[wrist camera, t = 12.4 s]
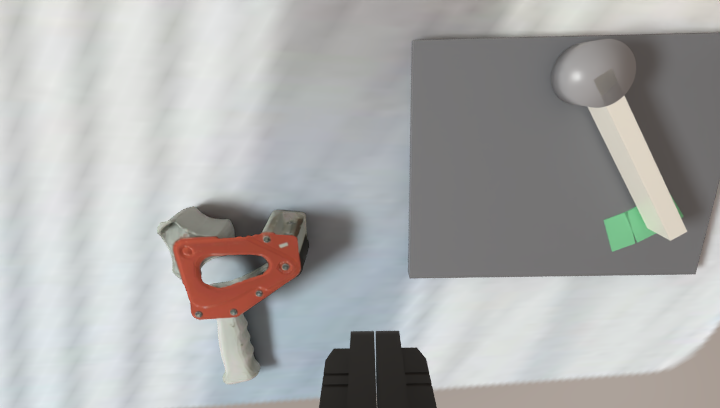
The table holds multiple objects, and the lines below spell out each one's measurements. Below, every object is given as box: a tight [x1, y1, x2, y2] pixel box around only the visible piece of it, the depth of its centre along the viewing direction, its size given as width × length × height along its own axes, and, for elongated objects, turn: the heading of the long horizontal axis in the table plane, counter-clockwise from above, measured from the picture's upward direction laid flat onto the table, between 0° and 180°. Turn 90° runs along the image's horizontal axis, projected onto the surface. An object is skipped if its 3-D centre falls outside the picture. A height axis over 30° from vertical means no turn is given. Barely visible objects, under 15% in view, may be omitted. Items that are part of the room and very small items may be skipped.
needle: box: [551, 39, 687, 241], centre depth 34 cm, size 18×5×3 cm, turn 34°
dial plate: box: [408, 33, 720, 278], centre depth 37 cm, size 22×28×2 cm
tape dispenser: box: [157, 206, 309, 384], centre depth 40 cm, size 18×5×20 cm
